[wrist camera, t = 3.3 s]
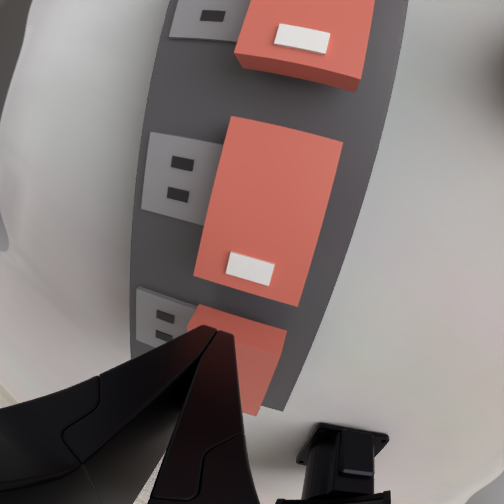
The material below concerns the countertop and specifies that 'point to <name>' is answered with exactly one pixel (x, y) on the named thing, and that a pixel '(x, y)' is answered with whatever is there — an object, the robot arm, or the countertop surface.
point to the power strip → (207, 160)
